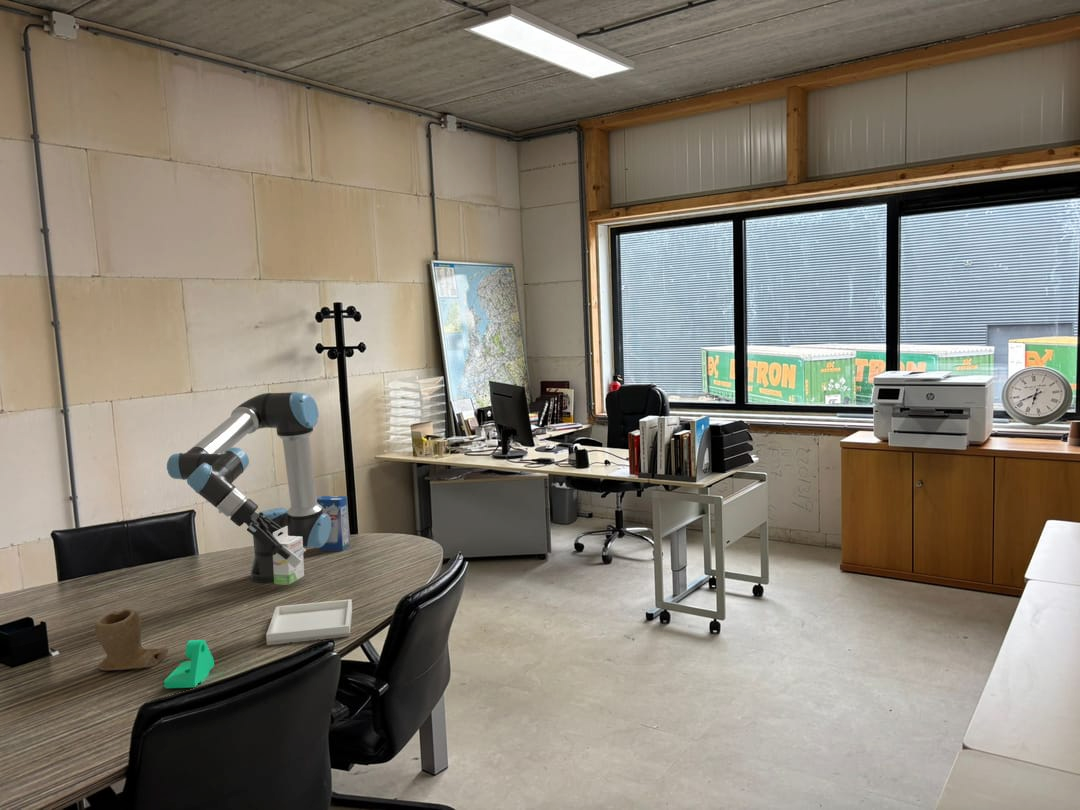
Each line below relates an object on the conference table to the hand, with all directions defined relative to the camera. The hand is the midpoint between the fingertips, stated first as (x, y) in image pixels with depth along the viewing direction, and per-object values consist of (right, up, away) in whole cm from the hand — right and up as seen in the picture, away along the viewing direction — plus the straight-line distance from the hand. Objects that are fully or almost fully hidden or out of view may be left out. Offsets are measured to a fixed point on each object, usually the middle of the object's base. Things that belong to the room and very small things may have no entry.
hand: (300, 558), depth 225 cm
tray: (+2, -20, +4) cm, 21 cm away
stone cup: (-38, -24, -20) cm, 49 cm away
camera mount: (-18, -25, -29) cm, 43 cm away
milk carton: (-12, -12, +83) cm, 85 cm away
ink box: (-3, -6, 0) cm, 7 cm away
